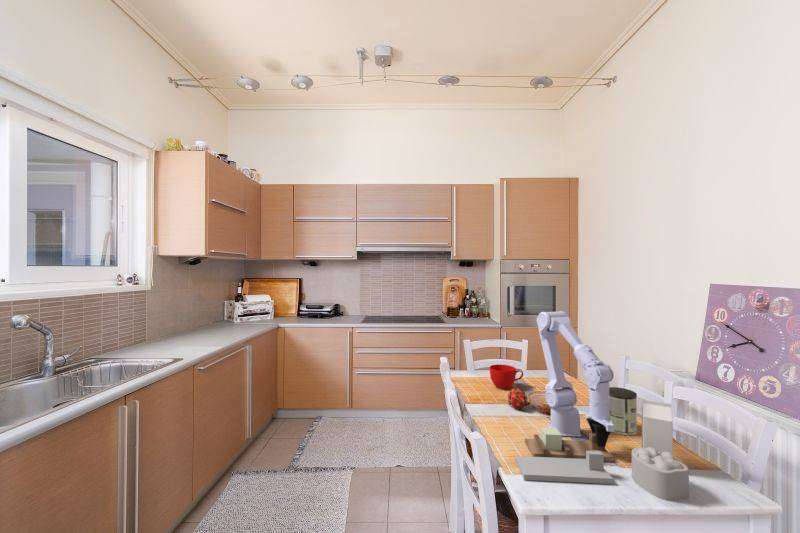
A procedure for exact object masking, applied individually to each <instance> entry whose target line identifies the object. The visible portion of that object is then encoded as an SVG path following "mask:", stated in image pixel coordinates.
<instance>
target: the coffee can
mask: <svg viewBox="0 0 800 533" xmlns="http://www.w3.org/2000/svg"><path fill="white" fill-rule="evenodd" d="M637 396H638V394H637V392H635V391H634V390H631V389H628V388H624V387H617V386H609V410H610V418H611V421H612V424H613V425H614V432H613V433H615V434H618V435H621V436H622V435H623V436H636V435H637V433H638V422H637V421H638V420H637V419H638V415H637V414H638V413H637V411H638V410H637V409H638V408H637V406H638V405H637Z"/></svg>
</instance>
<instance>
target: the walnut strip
mask: <svg viewBox="0 0 800 533" xmlns="http://www.w3.org/2000/svg"><path fill="white" fill-rule="evenodd" d="M588 434H589V435H588V439H589V440H575V439H562V451H556V450H547V448H546V446H545V445H544V443H543V442H542V440H541V436H539V434H533V438H527V437H526V438H524V444H525V446H526V447H527V448H528V451H529V453H530V454H531V457H551V458H575V459H586V451H601V453H602V454H603V455H604V462H612V463H613V462H614V456H613V455H612V454H611V453H610V452H609V451H608V450H607V449H606V446H605V447H599V446H598V444H597V439H596V433H592V432H589V433H588Z"/></svg>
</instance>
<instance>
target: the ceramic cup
mask: <svg viewBox="0 0 800 533" xmlns="http://www.w3.org/2000/svg"><path fill="white" fill-rule="evenodd" d="M519 372H520V373H521V375H520V376H519V377H518V378H516V375H517V373H519ZM489 375H490V379H491V382H492V384H493V385H494V386H495V388H497V389H498V388H500V389H499V390H509V389H510V388H511V387H512V386H513V384H514V383H515V382H517V381H519V380H521V379H522V378H523V376H524V372H523V370H522V369H517V368H516V367H515V366H513V365H509V364H491V365H490V366H489Z"/></svg>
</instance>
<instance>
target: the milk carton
mask: <svg viewBox="0 0 800 533" xmlns="http://www.w3.org/2000/svg"><path fill="white" fill-rule="evenodd" d="M673 428H674V427H673V414H672V404H671V403H668V402H667V403H666V402H661V401H654V400H649V399H644V398H643V399H641V447H643V448H647V447H651V448H654V449H655V450H656V451H658V452H659V451H661V452H669V453H671V454H672V455H673V456H674V444H673V443H674V438H673V436H674V434H673Z"/></svg>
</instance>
